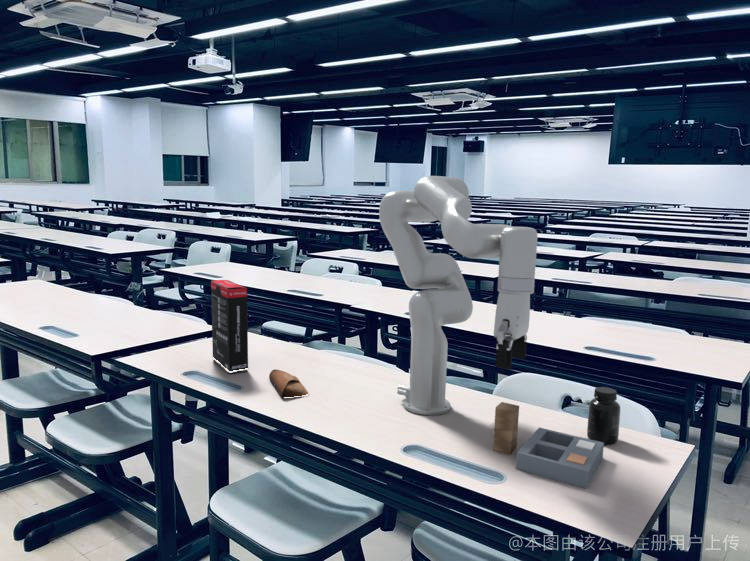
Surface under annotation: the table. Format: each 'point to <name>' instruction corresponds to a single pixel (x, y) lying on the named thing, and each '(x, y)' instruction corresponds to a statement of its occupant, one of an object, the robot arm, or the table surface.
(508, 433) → the plug
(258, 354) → the table surface
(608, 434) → the supplement bottle
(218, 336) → the graphics card box
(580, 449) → the socket block
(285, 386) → the sunglasses case
